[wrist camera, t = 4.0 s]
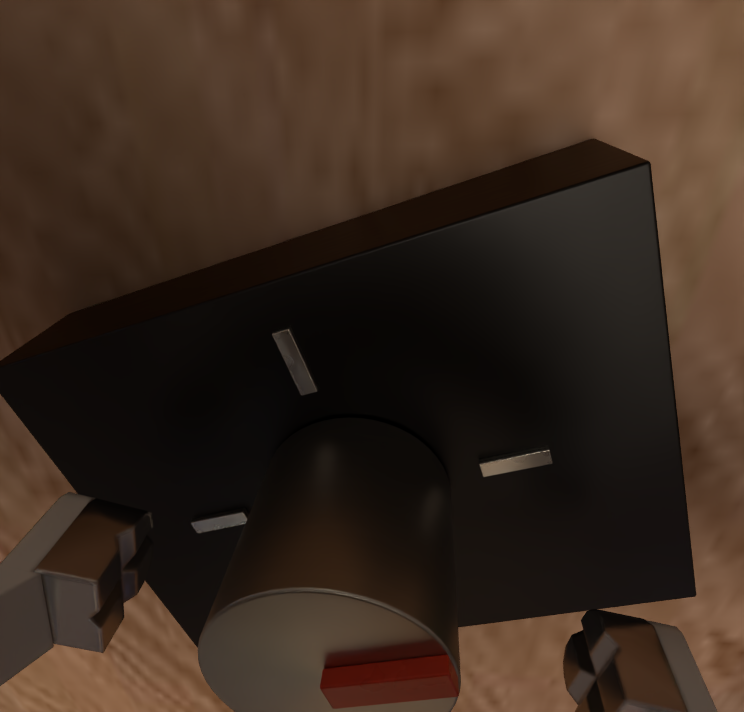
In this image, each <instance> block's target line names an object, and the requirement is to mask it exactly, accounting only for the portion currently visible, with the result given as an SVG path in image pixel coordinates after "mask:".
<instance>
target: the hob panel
mask: <svg viewBox="0 0 744 712" xmlns="http://www.w3.org/2000/svg"><path fill="white" fill-rule="evenodd" d="M0 394H1V395H2V397H3V398H4V399H5V400H6V402H7V403H8V404H9V406H10V407H11V408H12V409H13V411H14V412H15V413H16V415H17V416H18V417H19V418H20V420H21V421H22V422H23V424H24V425H25V426H26V427H27V429H28V430H29V431H30V433H31V434H32V435H33V437H34V438H35V439H36V440H37V442H38V443H39V444H40V446H41V447H42V448H43V449H44V451H45V452H46V453H47V455H48V456H49V457H50V458H51V460H52V461H53V462H54V464H55V465H56V466H57V467H58V469H59V470H60V471H61V473H62V474H63V475H64V476H65V478H66V479H67V480H68V482H69V483H70V484H71V485H72V487H73V488H74V489H75V491H76V492H77V493H78V494H80V495H84V496H88V497H93V498H97V499H101V500H105V501H109V502H113V503H117V504H121V505H125V506H129V507H133V508H137V509H141V510H145V511H149V512H152V519H153V526H152V528H151V529H150V531H149V533H148V534H147V535H148V536H149V538H150V539H151V540H152V541H153V556H152V562H151V566H150V568H149V571H148V574H147V576H146V579H145V581H146V582H147V583H148V585H149V586H150V587H151V588H152V590H153V591H154V592H155V594H156V595H157V596H158V597H159V599H160V600H161V601H162V603H163V604H164V605H165V606H166V608H167V609H168V610H169V612H170V613H171V614H172V615H173V617H174V618H175V619H176V621H177V622H178V623H179V624H180V626H181V627H182V628H183V630H184V631H185V632H186V633H187V635H188V636H189V637H190V639H191V640H192V641H193V642H194V644H195V645H196V646H197V648H198V644H199V638H200V636H201V633H202V630H203V628H204V625H205V623H206V621H207V618H208V616H209V613H210V611H211V608H212V606H213V603H214V601H215V598H216V596H217V593H218V591H219V588H220V586H221V583H222V581H223V578H224V576H225V573H226V571H227V568H228V566H229V563H230V561H231V558H232V556H233V553H234V551H235V548H236V546H237V543H238V541H239V538H240V536H241V534H242V531H243V529H244V526H245V524H246V521H247V519H248V516H249V514H250V511H251V509H252V506H253V504H254V501H255V499H256V496H257V494H258V491H259V489H260V486H261V484H262V481H263V479H264V476H265V474H266V471H267V469H268V466H269V464H270V461H271V459H272V457H273V455H274V454H275V452H276V450H277V449H278V448H279V447H280V445H281V444H282V443H283V442H284V441H285V440H286V439H288V438H289V437H290V436H291V435H293V434H294V433H296V432H297V431H299V430H301V429H302V428H304V427H307V426H309V425H311V424H314V423H317V422H320V421H324V420H329V419H335V418H348V417H350V418H365V419H371V420H376V421H380V422H384V423H388V424H390V425H393V426H395V427H398V428H400V429H402V430H404V431H406V432H408V433H410V434H411V435H413V436H414V437H416V438H417V439H419V440H420V441H421V442H423V443H424V444H425V445H426V446H427V447H428V448H429V449H430V450H431V451H432V452H433V453H434V454H435V456H436V457H437V458H438V460H439V461H440V463H441V464H442V466H443V467H444V470H445V472H446V474H447V476H448V480H449V484H450V491H451V506H452V525H453V543H454V562H455V581H456V600H457V619H458V627H464V626H472V625H480V624H487V623H495V622H503V621H510V620H518V619H526V618H534V617H541V616H549V615H557V614H564V613H572V612H580V611H587V610H591V609H603V608H610V607H618V606H626V605H633V604H641V603H649V602H656V601H664V600H672V599H679V598H687V597H695V596H696V588H695V578H694V569H693V559H692V550H691V541H690V531H689V522H688V512H687V503H686V493H685V484H684V475H683V465H682V456H681V446H680V437H679V427H678V418H677V409H676V399H675V390H674V380H673V371H672V361H671V352H670V343H669V333H668V324H667V314H666V305H665V296H664V286H663V277H662V267H661V258H660V248H659V239H658V230H657V220H656V211H655V201H654V192H653V182H652V173H651V164H650V162H649V161H647V160H645V159H643V158H640V157H638V156H635V155H633V154H631V153H628V152H626V151H623V150H621V149H619V148H616V147H614V146H611V145H609V144H607V143H604V142H602V141H599V140H597V139H591V140H588V141H585V142H582V143H579V144H576V145H573V146H570V147H567V148H564V149H561V150H558V151H555V152H552V153H549V154H546V155H543V156H540V157H537V158H534V159H531V160H528V161H525V162H522V163H519V164H516V165H513V166H510V167H507V168H504V169H501V170H498V171H495V172H492V173H489V174H486V175H483V176H480V177H477V178H474V179H471V180H468V181H465V182H462V183H459V184H456V185H453V186H450V187H447V188H444V189H441V190H438V191H435V192H432V193H429V194H426V195H423V196H420V197H417V198H414V199H411V200H408V201H405V202H402V203H399V204H396V205H393V206H390V207H387V208H384V209H381V210H378V211H375V212H372V213H369V214H366V215H363V216H360V217H357V218H354V219H351V220H349V221H346V222H343V223H340V224H337V225H334V226H331V227H328V228H325V229H322V230H319V231H316V232H313V233H310V234H307V235H304V236H301V237H298V238H295V239H292V240H289V241H286V242H283V243H280V244H277V245H274V246H271V247H268V248H265V249H262V250H259V251H256V252H253V253H250V254H247V255H244V256H241V257H238V258H235V259H232V260H229V261H226V262H223V263H220V264H217V265H214V266H211V267H208V268H205V269H202V270H199V271H196V272H193V273H190V274H187V275H184V276H181V277H178V278H175V279H172V280H169V281H166V282H163V283H160V284H157V285H154V286H151V287H148V288H145V289H142V290H139V291H136V292H133V293H130V294H127V295H124V296H121V297H118V298H115V299H112V300H109V301H106V302H103V303H100V304H97V305H94V306H91V307H88V308H85V309H82V310H79V311H76V312H73V313H70V314H68V315H67V316H65V317H64V318H62V319H61V320H60V321H58V322H57V323H55V324H54V325H52V326H51V327H49V328H48V329H46V330H45V331H43V332H42V333H40V334H39V335H38V336H36V337H35V338H33V339H32V340H30V341H29V342H27V343H26V344H24V345H23V346H21V347H20V348H18V349H17V350H16V351H14V352H13V353H11V354H10V355H8V356H7V357H5V358H4V359H2V360H1V361H0Z"/></svg>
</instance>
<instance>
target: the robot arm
mask: <svg viewBox="0 0 744 712" xmlns="http://www.w3.org/2000/svg"><path fill="white" fill-rule="evenodd" d="M152 526H153V519H152V512H149V511H145V510H141V509H137V508H133V507H129V506H125V505H121V504H117V503H113V502H109V501H105V500H101V499H97V498H93V497H88V496H84V495H80V494H75V493H71V492H68V493H67V494H65V495H63V496H61V497H60V498H59V499H58V500H57V501H56V502H55V503H54V504H53V505H52V506H51V507H50V509H49V510H48V511H47V512H46V513H45V514H44V515H43V516H42V518H41V519H40V520H39V521H38V522H37V523H36V524H35V525H34V526H33V528H32V529H31V530H30V531H29V532H28V533H27V534H26V535H25V537H24V538H23V539H22V540H21V541H20V542H19V543H18V544H17V546H16V547H15V548H14V549H13V550H12V551H11V552H10V553H9V554H8V556H7V557H6V558H5V559H4V560H3V561H2V562H1V563H0V686H1V685H2V684H4V683H5V682H6V681H8V680H9V679H10V678H12V677H13V676H15V675H16V674H17V673H19V672H20V671H21V670H23V669H24V668H25V667H27V666H28V665H29V664H31V663H32V662H34V661H35V660H36V659H38V658H39V657H40V656H42V655H43V654H44V653H46V652H47V651H48V650H50V649H51V648H53V646H54V645H53V643H54V644H59V645H64V646H69V647H75V648H80V649H85V650H90V651H95V652H101V653H104V651H105V649H106V648H107V646H108V644H109V642H110V641H111V639H112V637H113V635H114V634H115V632H116V630H117V629H118V627H119V625H120V623H121V622H122V620H123V618H124V606H123V603H124V602H126V601H128V600H129V599H131V598H132V597H134V596H136V595H137V594H138V592H139V590H140V588H141V587H142V585H143V583H144V581H145V579H146V576H147V574H148V571H149V568H150V566H151V562H152V556H153V541H152V540H151V539H150V538H149V536H148V535H147V534H148V533H149V531H150V529H151V528H152ZM581 622H582V626H583V630H582V631H580V632H578V633H575V634H573V635H572V636H571V637H570V639H569V641H568V643H567V645H566V647H565V653H564V659H563V671H564V679H565V684H566V689H567V691H568V692H569V694H570V695H571V696H572V698H573V699H574V700H575V702H576V703H577V704H578V706H577V708H576V710H575V712H717V709H716V707H715V705H714V703H713V700H712V698H711V696H710V694H709V691H708V689H707V687H706V685H705V683H704V680H703V678H702V676H701V674H700V671H699V669H698V667H697V665H696V662H695V660H694V658H693V656H692V653H691V651H690V649H689V647H688V644H687V642H686V640H685V638H684V636H683V634H682V632H681V631H680V630H679V629H678V628H677V627H675V626H670V625H666V624H661V623H657V622H652V621H646V620H644V619H641V618H636V617H631V616H626V615H622V614H617V613H612V612H607V611H602V610H597V609H591V610H589V611H587V612H586V613H585V615H584V616H583V618H582V619H581Z"/></svg>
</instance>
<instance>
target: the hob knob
mask: <svg viewBox="0 0 744 712" xmlns="http://www.w3.org/2000/svg"><path fill="white" fill-rule="evenodd" d="M198 660H199V665H200V668H201V672H202V674H203V676H204V678H205V680H206V682H207V683H208V685H209V686H210V688H211V689H212V690H213V692H214V693H215V694H216V695H217V696H218V697H219V698H220V699H221V700H222V701H223V702H224V703H225V704H226V705H227V706H229V707H230V708H231V709H232V710H234V711H235V712H451V710H452V709H453V707H454V705H455V704H456V701H457V698H458V696H459V692H460V685H461V675H460V656H459V637H458V619H457V600H456V581H455V562H454V543H453V525H452V506H451V491H450V484H449V480H448V476H447V474H446V472H445V470H444V467H443V466H442V464H441V463H440V461H439V460H438V458H437V457H436V456H435V454H434V453H433V452H432V451H431V450H430V449H429V448H428V447H427V446H426V445H425V444H424V443H423V442H421V441H420V440H419V439H417V438H416V437H414V436H413V435H411V434H410V433H408V432H406V431H404V430H402V429H400V428H398V427H395V426H393V425H390V424H388V423H384V422H380V421H376V420H371V419H365V418H350V417H348V418H335V419H329V420H324V421H320V422H317V423H314V424H311V425H309V426H307V427H304V428H302V429H301V430H299V431H297V432H296V433H294V434H293V435H291V436H290V437H289V438H288V439H286V440H285V441H284V442H283V443H282V444H281V445H280V447H279V448H278V449H277V450H276V452H275V454H274V455H273V457H272V459H271V461H270V464H269V466H268V469H267V471H266V474H265V476H264V479H263V481H262V484H261V486H260V489H259V491H258V494H257V496H256V499H255V501H254V504H253V506H252V509H251V511H250V514H249V516H248V519H247V521H246V524H245V526H244V529H243V531H242V534H241V536H240V538H239V541H238V543H237V546H236V548H235V551H234V553H233V556H232V558H231V561H230V563H229V566H228V568H227V571H226V573H225V576H224V578H223V581H222V583H221V586H220V588H219V591H218V593H217V596H216V598H215V601H214V603H213V606H212V608H211V611H210V613H209V616H208V618H207V621H206V623H205V625H204V628H203V630H202V633H201V636H200V638H199V644H198Z"/></svg>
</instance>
